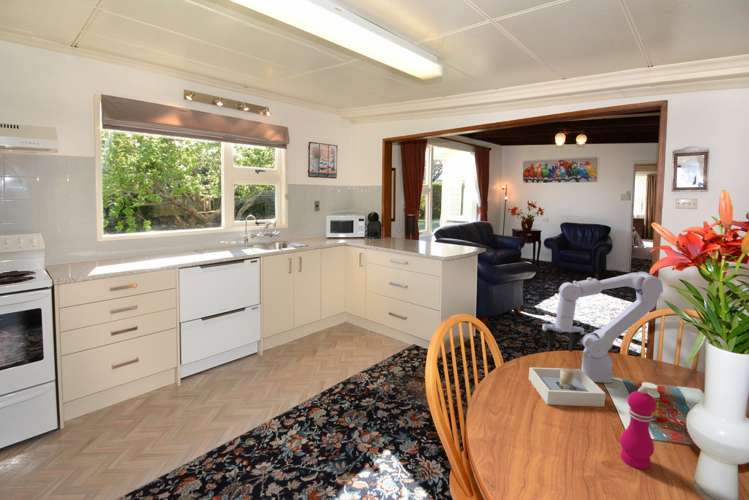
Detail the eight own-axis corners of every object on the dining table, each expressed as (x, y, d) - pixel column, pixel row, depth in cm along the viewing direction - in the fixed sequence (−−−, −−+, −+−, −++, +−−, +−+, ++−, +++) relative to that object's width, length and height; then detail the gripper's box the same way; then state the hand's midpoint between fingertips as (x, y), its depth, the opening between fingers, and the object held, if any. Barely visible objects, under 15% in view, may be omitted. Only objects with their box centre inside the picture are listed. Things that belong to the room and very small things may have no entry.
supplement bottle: (651, 423, 121) (655, 391, 119) (631, 414, 125) (635, 383, 124) (660, 418, 124) (664, 386, 122) (640, 409, 128) (643, 379, 127)
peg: (566, 387, 140) (568, 368, 140) (574, 393, 137) (576, 373, 136) (556, 388, 140) (557, 369, 139) (563, 394, 136) (565, 374, 135)
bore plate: (575, 383, 144) (575, 378, 144) (591, 400, 132) (592, 395, 132) (541, 382, 144) (541, 377, 144) (554, 399, 132) (554, 393, 132)
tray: (578, 380, 148) (579, 369, 147) (604, 406, 130) (605, 393, 129) (528, 379, 148) (529, 367, 148) (547, 404, 131) (548, 391, 130)
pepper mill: (621, 448, 108) (628, 377, 106) (653, 460, 104) (662, 386, 101) (616, 461, 103) (624, 387, 100) (650, 474, 98) (659, 397, 96)
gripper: (580, 313, 153) (574, 347, 156) (541, 310, 154) (536, 344, 156) (589, 319, 147) (583, 355, 149) (548, 315, 147) (543, 351, 149)
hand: (559, 350), depth 152 cm, fingers open, 7 cm apart
